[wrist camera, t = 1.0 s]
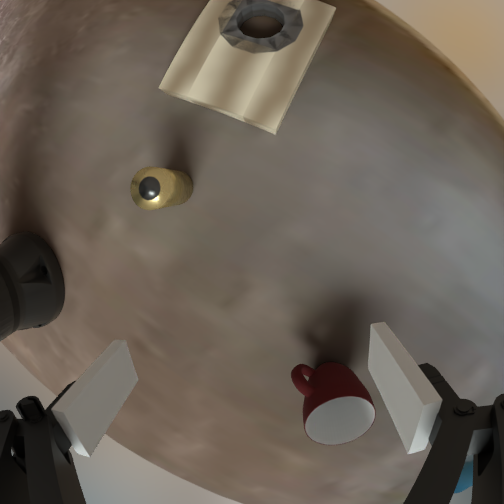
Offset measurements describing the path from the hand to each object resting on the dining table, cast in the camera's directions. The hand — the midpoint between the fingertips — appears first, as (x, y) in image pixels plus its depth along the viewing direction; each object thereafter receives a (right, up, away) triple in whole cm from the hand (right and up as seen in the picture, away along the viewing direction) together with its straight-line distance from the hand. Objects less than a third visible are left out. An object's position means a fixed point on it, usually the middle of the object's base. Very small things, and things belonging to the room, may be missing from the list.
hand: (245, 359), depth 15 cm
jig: (0, +29, +15) cm, 33 cm away
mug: (+10, -10, +23) cm, 27 cm away
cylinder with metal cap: (-8, +13, +19) cm, 25 cm away
